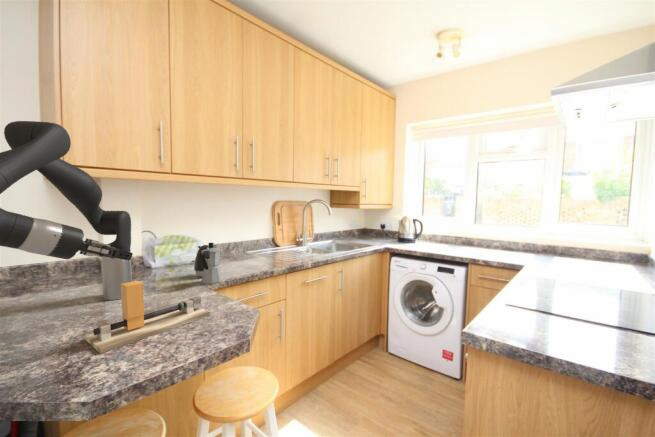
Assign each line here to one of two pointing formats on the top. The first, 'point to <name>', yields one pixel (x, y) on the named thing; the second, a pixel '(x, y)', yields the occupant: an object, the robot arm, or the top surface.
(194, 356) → the top surface
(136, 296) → the upright wooden block
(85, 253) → the robot arm
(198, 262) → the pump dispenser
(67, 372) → the top surface
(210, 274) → the coffee maker
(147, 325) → the linear slide rail
